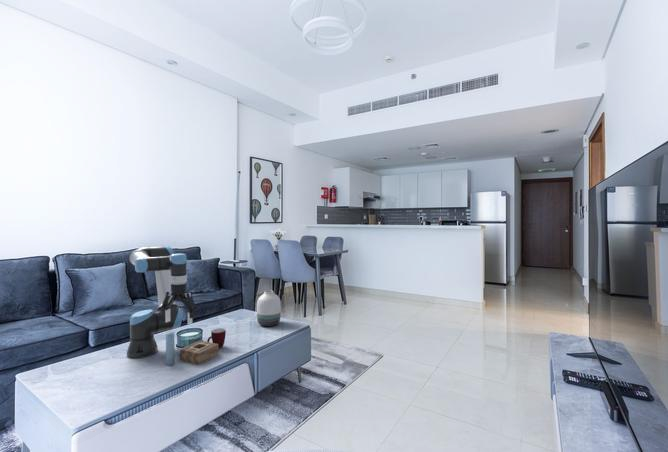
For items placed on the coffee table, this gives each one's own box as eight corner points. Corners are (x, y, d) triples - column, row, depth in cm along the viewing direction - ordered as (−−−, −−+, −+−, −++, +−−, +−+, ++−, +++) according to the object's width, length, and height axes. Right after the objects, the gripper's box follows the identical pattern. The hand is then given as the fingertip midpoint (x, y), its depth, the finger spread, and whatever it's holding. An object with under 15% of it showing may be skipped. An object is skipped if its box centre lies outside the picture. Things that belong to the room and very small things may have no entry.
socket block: (179, 360, 174) (179, 348, 174) (199, 350, 187) (199, 340, 187) (199, 364, 168) (199, 353, 168) (218, 354, 181) (218, 343, 181)
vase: (256, 321, 240) (256, 289, 240) (279, 319, 245) (278, 288, 245) (257, 329, 224) (257, 294, 224) (282, 326, 229) (282, 293, 229)
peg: (164, 364, 169) (164, 334, 168) (170, 361, 172) (170, 331, 172) (169, 366, 167) (169, 335, 167) (176, 362, 171) (176, 332, 171)
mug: (211, 352, 184) (211, 335, 184) (204, 348, 189) (204, 332, 189) (228, 347, 192) (228, 330, 192) (221, 343, 197) (221, 327, 197)
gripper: (153, 283, 170) (153, 323, 170) (194, 286, 164) (194, 327, 165) (164, 280, 177) (164, 318, 178) (203, 283, 171) (203, 322, 172)
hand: (178, 322), depth 171 cm, fingers open, 13 cm apart
